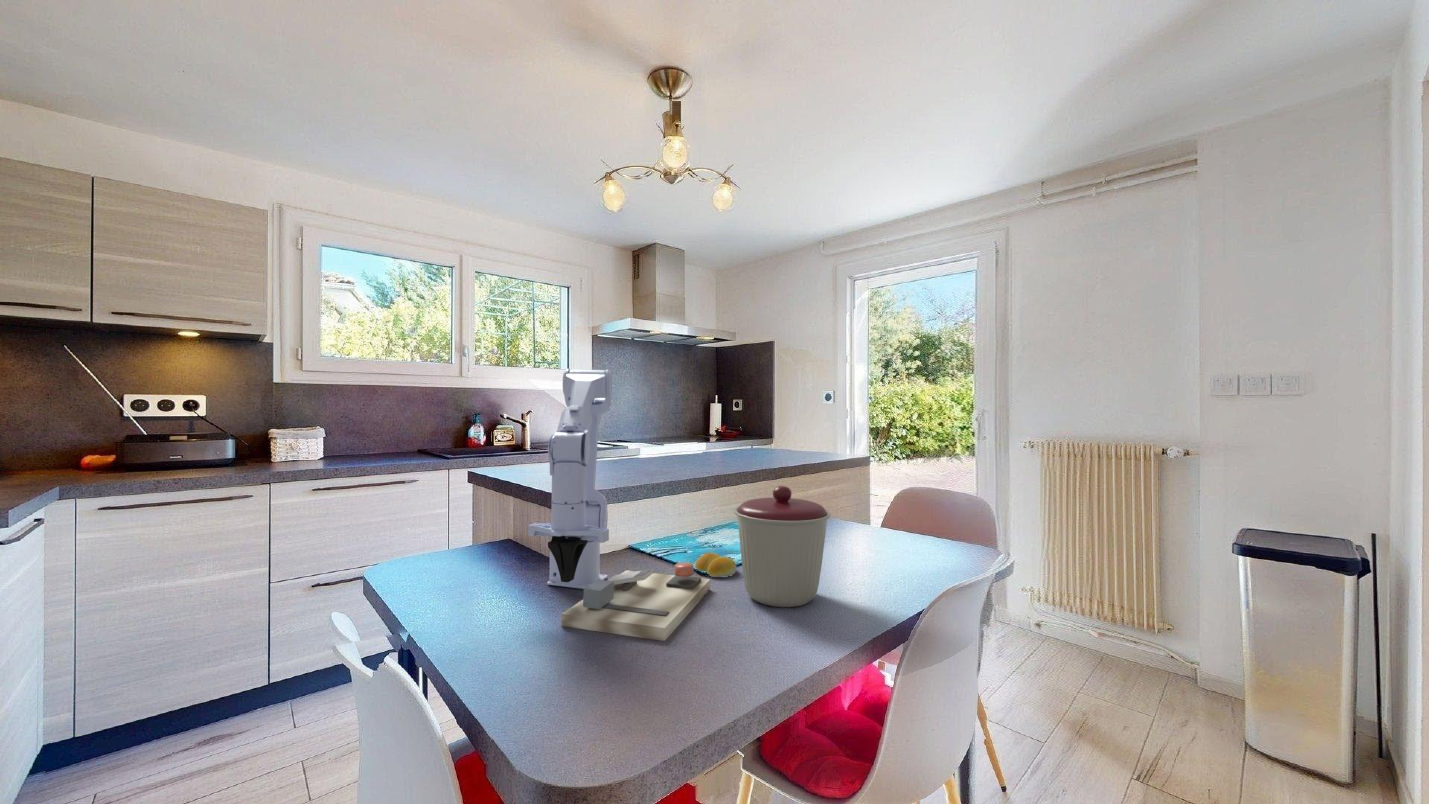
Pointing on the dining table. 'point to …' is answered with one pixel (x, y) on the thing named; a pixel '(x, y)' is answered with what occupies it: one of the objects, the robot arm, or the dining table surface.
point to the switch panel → (642, 607)
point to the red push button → (684, 569)
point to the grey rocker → (631, 576)
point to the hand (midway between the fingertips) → (567, 580)
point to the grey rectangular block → (598, 594)
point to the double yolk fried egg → (716, 565)
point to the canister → (781, 548)
